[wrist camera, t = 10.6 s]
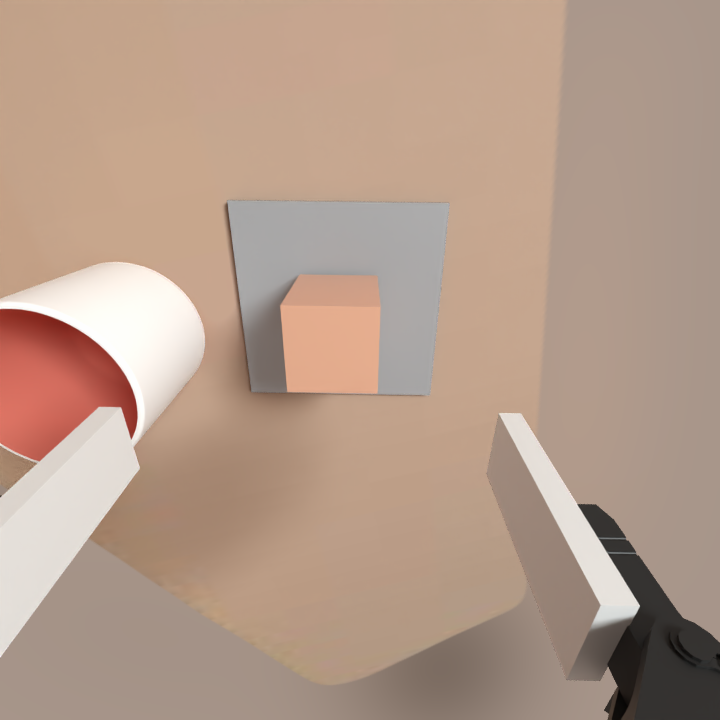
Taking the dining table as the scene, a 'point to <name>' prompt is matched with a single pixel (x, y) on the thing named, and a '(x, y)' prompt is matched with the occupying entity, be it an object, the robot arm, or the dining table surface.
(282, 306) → the peach toy cube
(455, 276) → the dining table surface
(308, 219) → the grey square plate
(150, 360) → the cup
